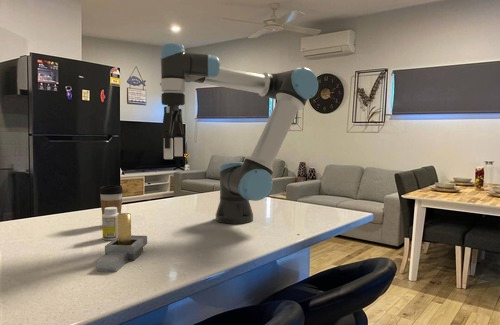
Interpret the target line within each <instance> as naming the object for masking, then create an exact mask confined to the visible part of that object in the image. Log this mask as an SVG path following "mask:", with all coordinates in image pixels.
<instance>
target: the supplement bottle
mask: <svg viewBox="0 0 500 325" xmlns="http://www.w3.org/2000/svg"><path fill="white" fill-rule="evenodd" d="M104 213H105V214H103V215H102V214H101V215H102V216H101V221H102V222H101V225H102V230H101V231H102V239H103V240H105V241H113V240H114V239H116V238H118V224H117V215H118V214H119V213H117V207H107V208H105V209H104Z"/></svg>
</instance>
